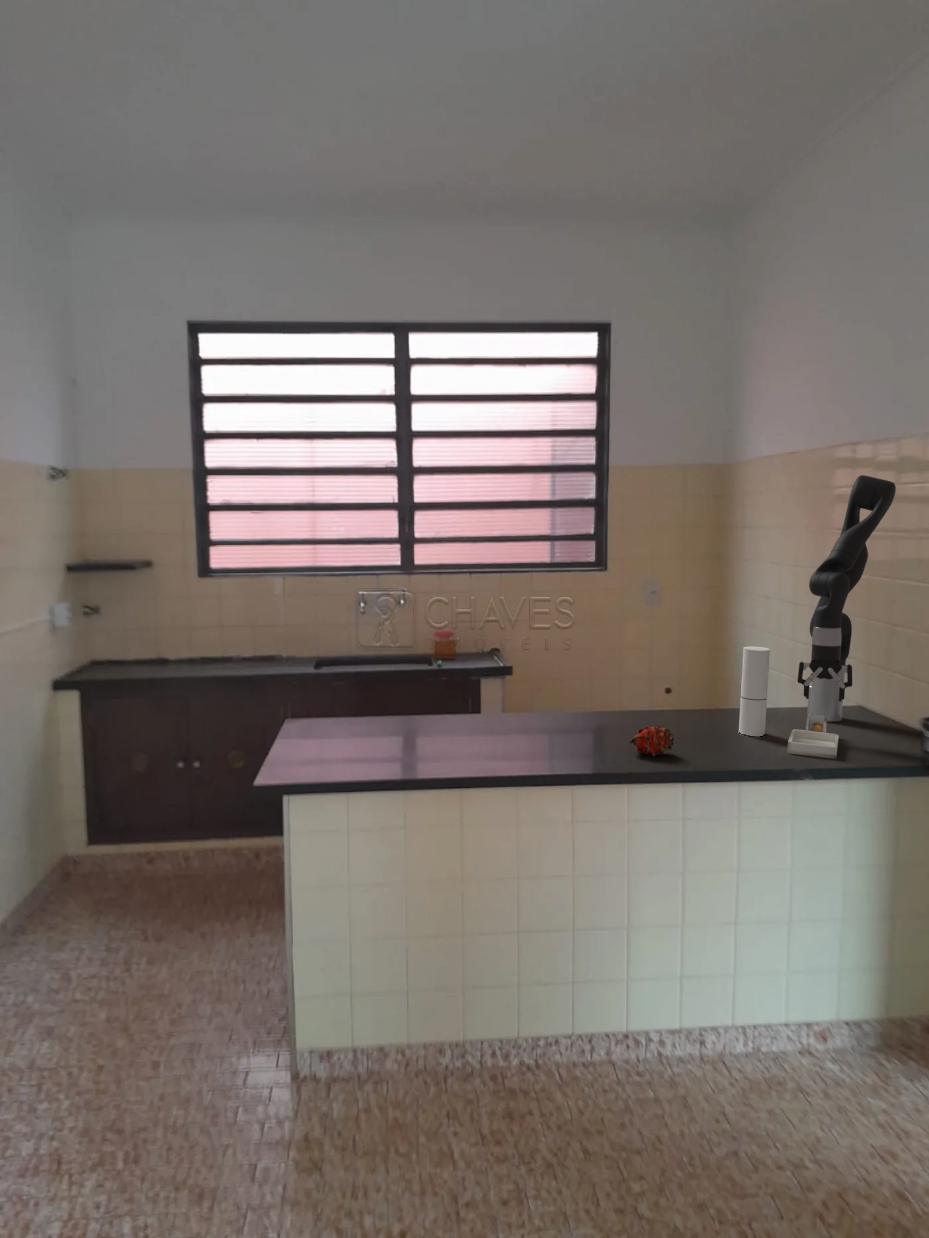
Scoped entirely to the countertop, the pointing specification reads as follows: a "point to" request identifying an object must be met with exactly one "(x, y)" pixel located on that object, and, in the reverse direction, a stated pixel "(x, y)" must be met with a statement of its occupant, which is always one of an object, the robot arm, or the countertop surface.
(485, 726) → the countertop surface
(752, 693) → the cylindrical container
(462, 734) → the countertop surface
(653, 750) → the dragon fruit
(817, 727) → the ball
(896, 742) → the countertop surface
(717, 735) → the countertop surface
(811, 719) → the scoop
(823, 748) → the tray
